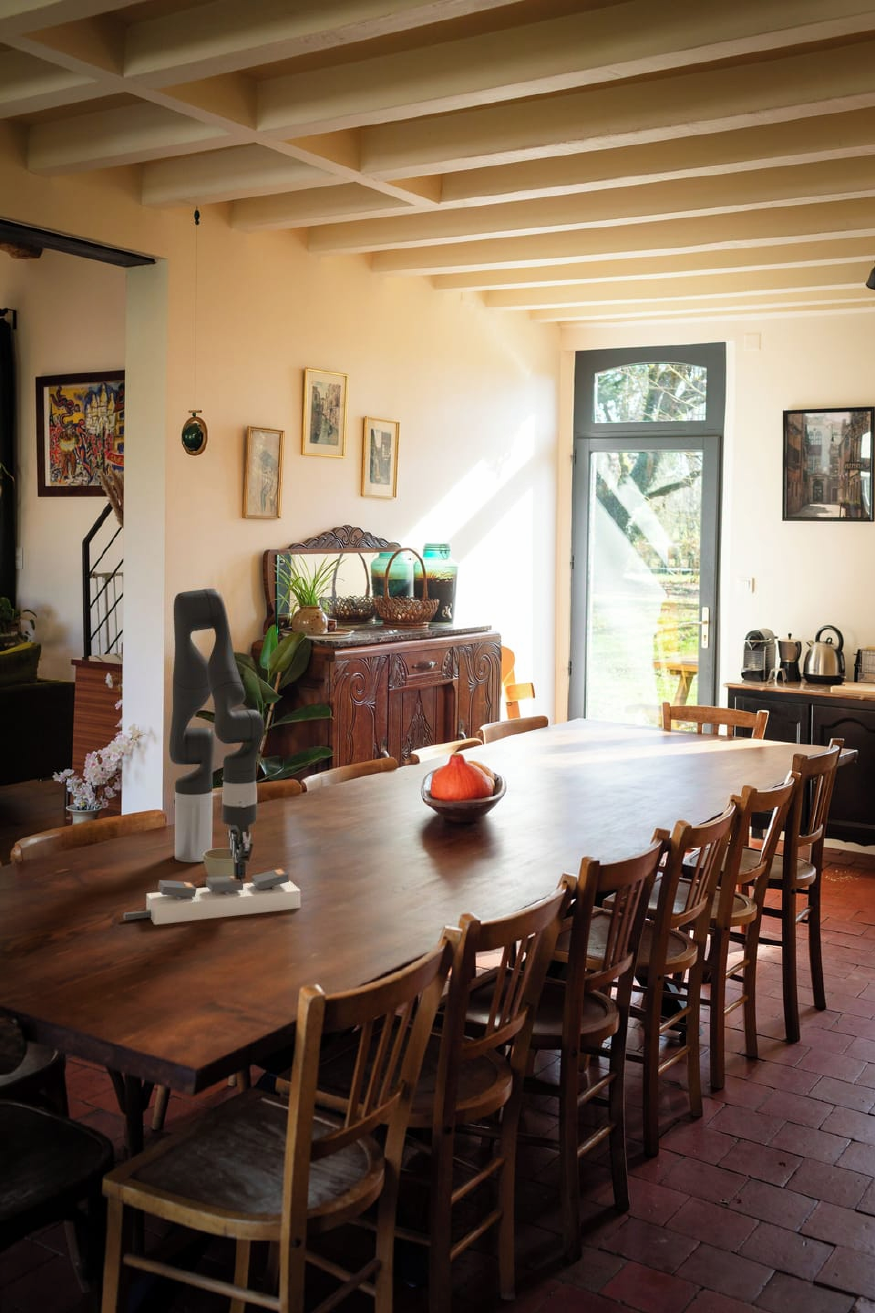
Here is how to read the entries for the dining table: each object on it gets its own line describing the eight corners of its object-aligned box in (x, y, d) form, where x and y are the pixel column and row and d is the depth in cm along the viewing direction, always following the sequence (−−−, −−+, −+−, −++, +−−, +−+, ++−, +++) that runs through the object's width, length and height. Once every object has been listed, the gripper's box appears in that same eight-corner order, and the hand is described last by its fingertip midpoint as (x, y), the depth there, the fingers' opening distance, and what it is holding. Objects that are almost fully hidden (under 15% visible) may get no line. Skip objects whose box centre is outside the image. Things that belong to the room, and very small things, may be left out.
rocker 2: (205, 885, 257) (206, 876, 257) (236, 883, 260) (237, 875, 260) (211, 891, 252) (211, 883, 252) (243, 890, 255) (243, 881, 255)
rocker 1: (157, 888, 252) (159, 879, 252) (189, 890, 255) (191, 881, 255) (162, 895, 248) (164, 886, 248) (194, 897, 251) (196, 888, 251)
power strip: (120, 914, 252) (120, 892, 251) (287, 896, 267) (288, 875, 267) (128, 927, 243) (128, 905, 243) (300, 908, 259) (300, 887, 259)
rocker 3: (252, 883, 261) (251, 875, 261) (282, 875, 264) (281, 867, 264) (259, 890, 257) (257, 882, 256) (289, 881, 260) (287, 873, 259)
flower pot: (204, 890, 270) (204, 860, 269) (201, 877, 279) (201, 848, 278) (248, 888, 272) (248, 858, 272) (243, 875, 282) (243, 846, 281)
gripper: (215, 796, 260) (215, 872, 262) (230, 809, 248) (230, 888, 250) (248, 793, 263) (248, 868, 265) (264, 806, 251) (264, 884, 253)
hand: (239, 878), depth 257 cm, fingers closed
